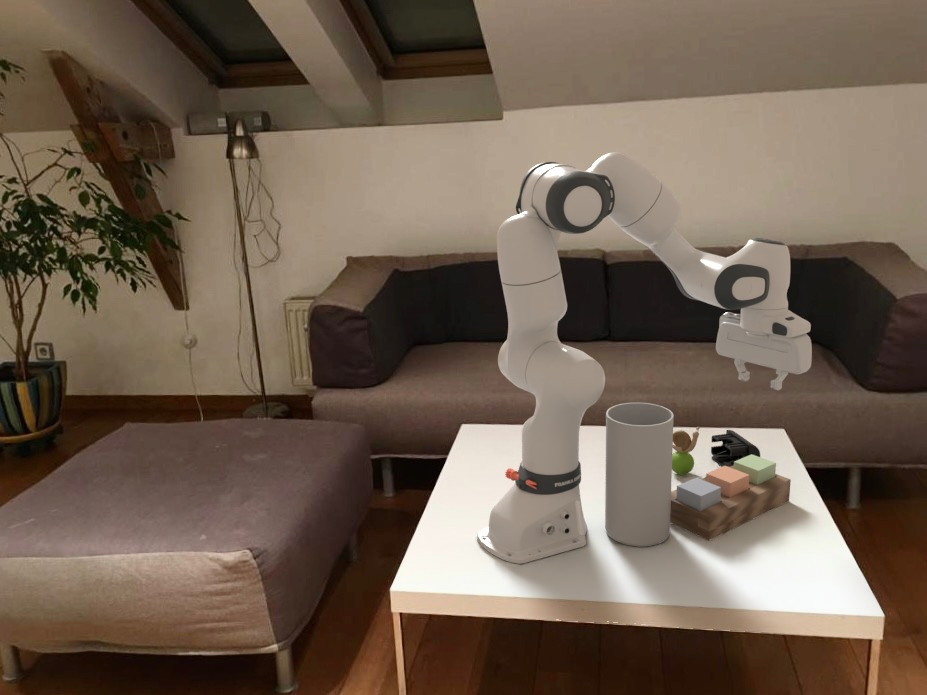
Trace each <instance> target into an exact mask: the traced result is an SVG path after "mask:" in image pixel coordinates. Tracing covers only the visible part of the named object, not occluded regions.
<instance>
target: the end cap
mask: <svg viewBox="0 0 927 695" xmlns="http://www.w3.org/2000/svg"><path fill="white" fill-rule="evenodd" d="M718 442H722V443H721V444H720V445H714V446H711V447H710V454H711V455H712V456H711V460H712V461H713V462H714V463H716V464H717V465H719V467H723V466H727V467H730V466H733V465H734V462H735V461H737V460H739V459H742V458H744V457H746V456H749V455H751V454H752V455H755V456H758V457H761V451H760V449H759V448H758V447H757V445H755V444H753V443H751V441H749V440H747V439H746V438H744V436H742V435H740V434H738V433H737V432H736V431H734V430H732V429H726V433H722V434H717V435H715V434H714V435H712V436H711V443H718Z"/></svg>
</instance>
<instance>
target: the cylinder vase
mask: <svg viewBox="0 0 927 695" xmlns="http://www.w3.org/2000/svg"><path fill="white" fill-rule="evenodd" d="M674 417H675V416H674V413H673V411H672V410H670V409H669V408H667V407H665V406H662V405H660V404H655V403H648V402H625V403H619V404H616V405H613V406H611V407H609V408H608V409H607V410H606V412H605V492H604V493H605V500H604V502H605V503H604V504H605V506H604V508H605V510H604V511H605V512H604V513H605V514H604V515H605V516H604V517H605V518H604V523H605V524H604V528H605V529H604V530H605V532H606V534H607V536H609V537H610V538H611V539H612V540H614V541H616V542H617V543H620V544H623V545H626V546H631V547H640V548H642V547H650V546H651V547H652V546H656V545H658V544H660V543H661V544H662V543H663V542H664V541H665V540H666V539H667V538H668V537H669V536H670V533H671V523H670V510H671V492H672V476H673V475H672V474H673V470H672V454H673V450H674V448H673V445H674V443H673V433H674Z"/></svg>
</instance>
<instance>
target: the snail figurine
mask: <svg viewBox="0 0 927 695" xmlns="http://www.w3.org/2000/svg"><path fill="white" fill-rule="evenodd" d="M695 429H696V430H694V431H692V433H691V434H692V437H691V436H690V434H689V433H688V432H687V431H685V430H682V429H681V430H676V431H673V450H674V452H672V472H674V473H675V474H677V475H682V476H683V475H687V474H689V473H691V471H693V469H694V466H695V459H694V457H693V455H692V454H691V452H692V451H693V450H694V449H695V447H696V445H697V442H698V438H699V435H700V433H699V429H700V426H697V427H696V428H695Z"/></svg>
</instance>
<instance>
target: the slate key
mask: <svg viewBox="0 0 927 695" xmlns="http://www.w3.org/2000/svg"><path fill="white" fill-rule="evenodd" d="M676 489H677V496H676V500H677V501H679V502H681V503H683V504H686V505H688V506H690V507H692V508H695V509H697V510H699V511H702V510H705V509H707V508H709V507H711V506H713V505H716V504H718V503H720V498H721V487H719V486H716V485H714V484H711V483H709V482H706V481H704V480H702V478H699V477H695V478H694V477H693V479H689V480H688V481H685V482H683V483H680V484H678V485H676Z"/></svg>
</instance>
